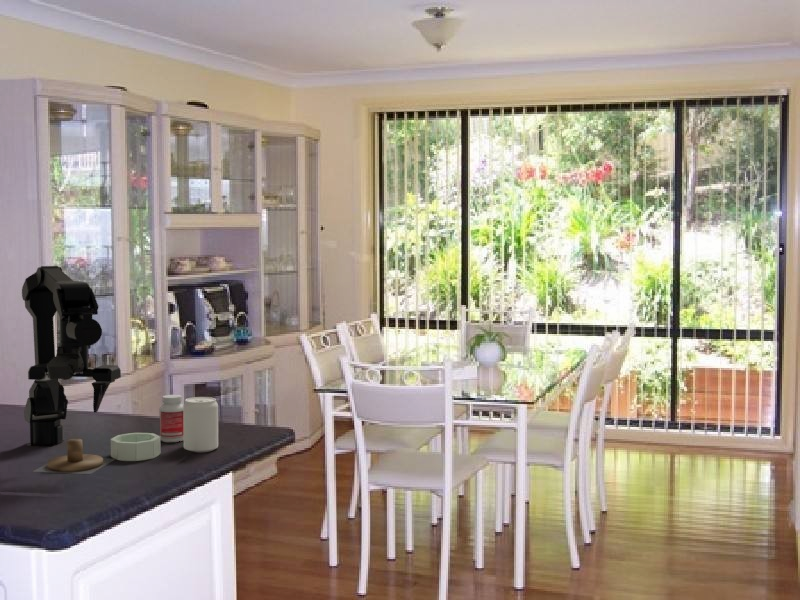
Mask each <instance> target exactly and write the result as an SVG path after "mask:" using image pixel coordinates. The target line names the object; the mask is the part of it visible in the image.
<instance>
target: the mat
mask: <svg viewBox="0 0 800 600" xmlns="http://www.w3.org/2000/svg"><path fill="white" fill-rule="evenodd" d="M102 458H103V457H102ZM115 460H116V459H114V458H107V457H106V458H103V464H102V465H101V466H100V467H97V468H94V469H90V470H85V471H77V472H57V471H52V470H49V469H48V468H47V463H46V464H44V465H41V466H40V467H38V468H36V469H35V470H33V471H31V472H32V473H49V474H53V473H54V474H70V475H72V474H73V475H92V474H94V473H95V472H97V471H98V470H101V469H102V468H104V467H106V466H107V465H109V464H110V463H112V462H113V461H114V462H115Z"/></svg>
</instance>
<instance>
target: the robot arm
mask: <svg viewBox="0 0 800 600" xmlns="http://www.w3.org/2000/svg"><path fill="white" fill-rule="evenodd" d="M21 297H22V301H24V307H25V309H26V310H27V312H28V314H30V316H31V317H32V326H33V327H32V329H33V348H34V349H33V350H34V352H33V353H34V365H31V366H30V367H29V369H28V371H27V379H28V380H29V381H30V380H34V381H33V383H32V384H31V386H30V388H29V390H28V398H27V400H26V403H25V407H24V410H23V417H24V421H25V422H27V423H28V424H29V437H30V438H29V440H30V441H29V443H27V444H26V447H28V446H29V447H49V448H50V447H51V448H52V447H54V446H57V445H58V444H61V443H63V442H65V440H64V439H63V438H64V437H63V436H64V435H63V433H64V432H63V425H62V424H61V420H66V418H67V411H68V404H69V400H68V399H67V396H66V394H65V387H64V385H63V384H61V383H60V381H59V380H63V381H67V380H70V379H72V378H73V377H76V378H77V377H80V378H92V379H93V380H94V382H91V386H92V387H93V388H92V389H93V403H92V404H93V405H92V406H93V413H98V411H99V409H100V407H101V404H102V402H103V398H104V397H105V395H106V392H107V391H108V388H109V386H110V385H111V384H112V383H115V381H117V379H121V378H122V377H121V375H122V373H121V368H120V367H119V365H115V364H113V365H111V364H102V365H98V366H96V367H94V368H92V362H89V350H90V349H92V347H91V346H93V345H95V344H97V343H98V342H99V341H100V339H101V338H102V335H103V328H102V326H101V324H100V323H99V322H98V321H97V320H96V319H94V318H93V316H95V315H99V304H98V301H97V298H96V296H95V292H94V291H93V289H92V287H90V284H89V283H88V282H85V281H79V280H73V279H72V278H71V277H70V276H68V275H67V274H66V273H65V272H64V271H63V269H62V267H61V266H58V265H41V266H39V267H37V269H36V272H34V273H32V274H31V275H30V276H28V277H25V279H24V282H23V285H22V287H21ZM56 314H58V316H59V346H57V349H56V348H55V347H56V345H55V327H54V326H55V325H54V317H55V316H56ZM55 349H56V350H55Z"/></svg>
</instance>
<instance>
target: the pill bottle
mask: <svg viewBox="0 0 800 600" xmlns="http://www.w3.org/2000/svg"><path fill="white" fill-rule="evenodd" d="M182 402H183V396H182V395H181V394H165V395H162V403H163V404H162V405H160V406H159V436H160V442H164V443H179V441H180V442H182V441H183V442H184V440H183V405H184V403H182Z"/></svg>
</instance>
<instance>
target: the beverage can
mask: <svg viewBox="0 0 800 600" xmlns="http://www.w3.org/2000/svg"><path fill="white" fill-rule="evenodd" d="M218 447H219V404H218V402H217V399H216V398H215V397H211V396H195V397H188V398H186V399H185V400H184V403H183V449H184V450H187V451H191V453H208V452H212V451H215V450H216V449H217V448H218Z"/></svg>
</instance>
